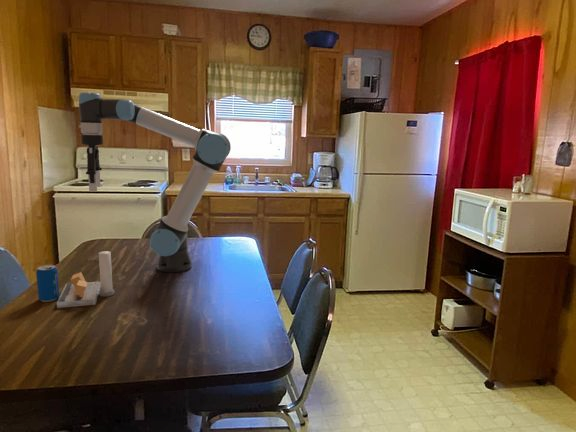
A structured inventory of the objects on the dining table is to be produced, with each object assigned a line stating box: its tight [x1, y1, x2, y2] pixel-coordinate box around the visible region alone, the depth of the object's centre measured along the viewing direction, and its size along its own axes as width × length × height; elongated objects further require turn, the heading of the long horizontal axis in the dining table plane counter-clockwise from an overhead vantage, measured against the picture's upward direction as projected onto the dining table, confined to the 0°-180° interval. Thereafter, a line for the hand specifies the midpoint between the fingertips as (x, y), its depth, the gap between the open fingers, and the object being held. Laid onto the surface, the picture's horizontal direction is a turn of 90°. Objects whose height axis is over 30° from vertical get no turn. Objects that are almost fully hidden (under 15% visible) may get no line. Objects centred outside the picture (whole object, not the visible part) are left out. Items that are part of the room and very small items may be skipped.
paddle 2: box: [73, 280, 89, 298], centre depth 147 cm, size 3×6×5 cm, turn 19°
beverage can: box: [35, 264, 60, 303], centre depth 147 cm, size 6×6×12 cm
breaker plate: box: [56, 281, 101, 309], centre depth 152 cm, size 12×18×2 cm, turn 19°
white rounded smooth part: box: [98, 250, 116, 298], centre depth 153 cm, size 5×5×16 cm
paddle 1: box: [70, 271, 87, 289], centre depth 155 cm, size 3×6×5 cm, turn 18°
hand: (95, 189), depth 165 cm, fingers open, 13 cm apart
